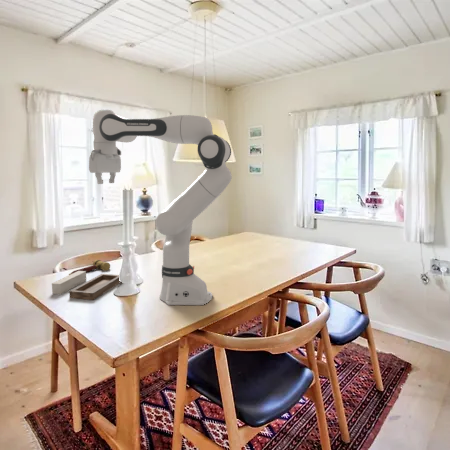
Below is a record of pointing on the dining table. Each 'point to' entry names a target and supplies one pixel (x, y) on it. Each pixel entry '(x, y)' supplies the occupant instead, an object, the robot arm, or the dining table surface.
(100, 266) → the gavel
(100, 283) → the brown wooden tray
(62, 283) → the clay strip
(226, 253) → the dining table surface
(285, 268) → the dining table surface
